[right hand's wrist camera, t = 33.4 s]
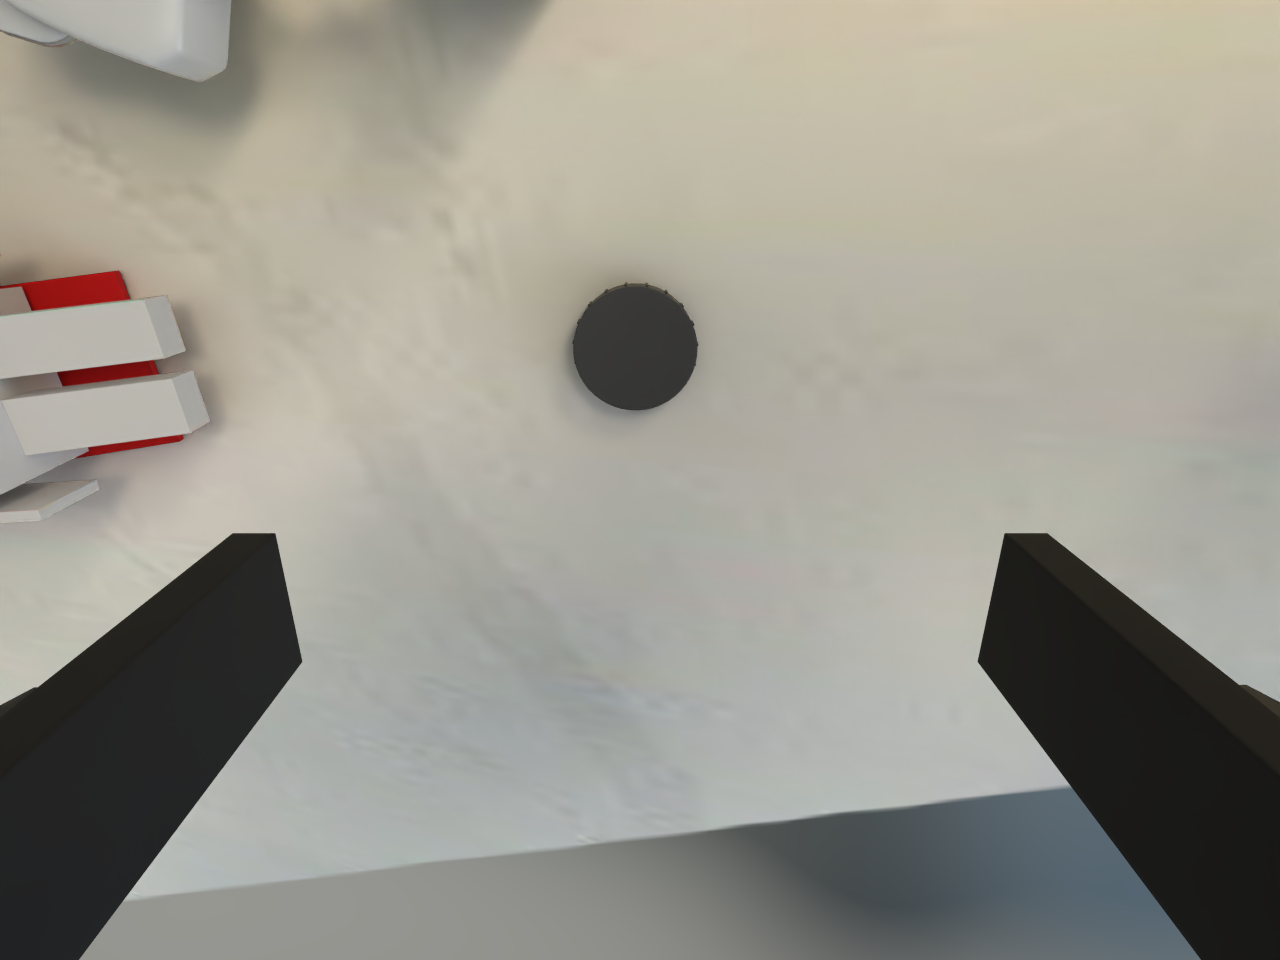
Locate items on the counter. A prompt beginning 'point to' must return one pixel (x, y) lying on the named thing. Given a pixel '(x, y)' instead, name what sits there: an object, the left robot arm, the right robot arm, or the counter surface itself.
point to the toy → (83, 384)
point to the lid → (635, 347)
